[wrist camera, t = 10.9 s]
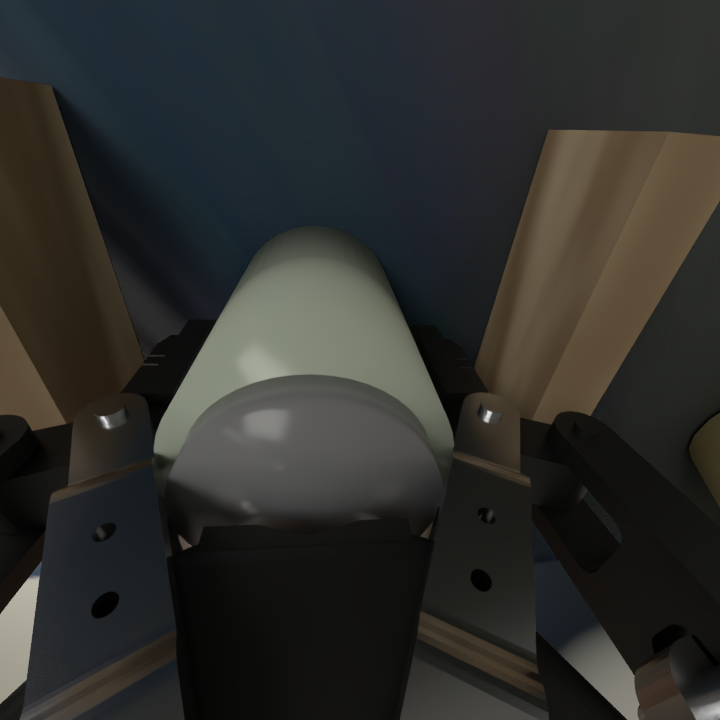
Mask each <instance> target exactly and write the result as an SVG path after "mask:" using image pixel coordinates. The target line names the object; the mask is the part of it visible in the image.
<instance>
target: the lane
mask: <svg viewBox="0 0 720 720" xmlns="http://www.w3.org/2000/svg"><path fill="white" fill-rule="evenodd" d="M719 201H720V136H709V135H698V134H688V133H677V132H651V131H594V130H548V133H547V136H546V139H545V142H544V146H543V149H542V152H541V155H540V158H539V162H538V165H537V168H536V171H535V174H534V178H533V181H532V184H531V187H530V190H529V194H528V197H527V200H526V203H525V206H524V210H523V213H522V216H521V219H520V222H519V226H518V229H517V232H516V235H515V238H514V242H513V245H512V248H511V251H510V254H509V258H508V261H507V264H506V267H505V270H504V274H503V277H502V280H501V283H500V286H499V290H498V293H497V296H496V299H495V302H494V306H493V309H492V312H491V315H490V318H489V322H488V325H487V328H486V331H485V334H484V338H483V341H482V344H481V347H480V350H479V354H478V357H477V360H476V363H475V366H474V369H475V371H476V372H477V374H478V376H479V377H480V379H481V380H482V382H483V384H484V385H485V387H486V388H487V390H488V392H489V393H490V394H494V395H497V396H499V397H502V398H503V399H505V400H507V401H508V402H510V403H511V404H512V405H513V406H514V407H515V408H516V409H517V411H518V412H519V415H520V417H521V418H525V419H529V420H533V421H538V422H542V423H547V424H552V423H553V421H554V419H555V417H556V416H557V415H558V414H559V413H561V412H565V411H574V412H580V413H583V414H587V415H589V416H591V414H592V412H593V411H594V409H595V407H596V406H597V404H598V402H599V401H600V399H601V397H602V396H603V394H604V392H605V391H606V389H607V387H608V386H609V384H610V382H611V381H612V379H613V377H614V376H615V374H616V372H617V371H618V369H619V367H620V366H621V364H622V362H623V361H624V359H625V357H626V356H627V354H628V352H629V351H630V349H631V347H632V346H633V344H634V342H635V341H636V339H637V337H638V336H639V334H640V332H641V331H642V329H643V327H644V326H645V324H646V322H647V321H648V319H649V317H650V316H651V314H652V312H653V311H654V309H655V307H656V306H657V304H658V302H659V301H660V299H661V297H662V296H663V294H664V292H665V291H666V289H667V287H668V286H669V284H670V282H671V281H672V279H673V278H674V276H675V274H676V273H677V271H678V269H679V268H680V266H681V264H682V263H683V261H684V259H685V258H686V256H687V254H688V253H689V251H690V249H691V248H692V246H693V244H694V243H695V241H696V239H697V238H698V236H699V234H700V233H701V231H702V229H703V228H704V226H705V224H706V223H707V221H708V219H709V218H710V216H711V214H712V213H713V211H714V209H715V208H716V206H717V204H718V203H719ZM143 362H144V358H143V355H142V352H141V350H140V347H139V344H138V341H137V338H136V335H135V332H134V329H133V326H132V323H131V320H130V317H129V314H128V311H127V308H126V305H125V302H124V299H123V296H122V293H121V290H120V287H119V285H118V282H117V279H116V276H115V273H114V270H113V267H112V264H111V261H110V258H109V255H108V252H107V249H106V246H105V243H104V240H103V237H102V234H101V231H100V228H99V225H98V222H97V219H96V217H95V214H94V211H93V208H92V205H91V202H90V199H89V196H88V193H87V190H86V187H85V184H84V181H83V178H82V175H81V172H80V169H79V166H78V163H77V160H76V157H75V154H74V152H73V149H72V146H71V143H70V140H69V137H68V134H67V131H66V128H65V125H64V122H63V119H62V116H61V113H60V110H59V107H58V104H57V101H56V98H55V95H54V92H53V89H52V87H51V85H47V84H40V83H33V82H27V81H20V80H13V79H6V78H0V415H18V416H21V417H23V418H24V419H25V420H26V421H27V423H28V424H29V426H30V427H31V429H32V430H33V431H34V430H39V429H44V428H48V427H53V426H58V425H63V424H68V423H72V422H74V419H75V417H76V415H77V414H78V413H79V412H80V411H81V410H82V409H83V408H84V407H86V406H87V405H89V404H90V403H92V402H94V401H96V400H98V399H100V398H103V397H106V396H109V395H114V394H120V393H121V391H122V390H123V389H124V388H125V386H126V385H127V384H128V382H129V381H130V380H131V378H132V377H133V376H134V374H135V373H136V372H137V370H138V369H139V368H140V366H141V365H142V366H143Z"/></svg>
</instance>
